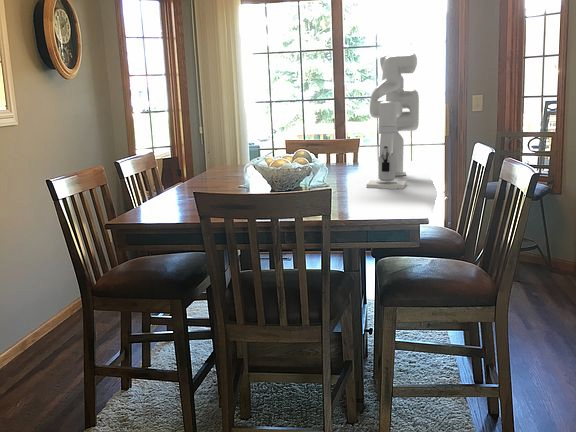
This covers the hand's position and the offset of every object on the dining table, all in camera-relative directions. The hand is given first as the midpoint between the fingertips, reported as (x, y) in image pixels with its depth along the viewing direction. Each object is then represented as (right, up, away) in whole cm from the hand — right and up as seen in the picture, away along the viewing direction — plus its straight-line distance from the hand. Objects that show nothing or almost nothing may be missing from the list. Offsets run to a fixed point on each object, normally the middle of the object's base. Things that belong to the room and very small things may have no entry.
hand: (386, 170), depth 271 cm
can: (0, -5, +1) cm, 5 cm away
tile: (0, -7, +1) cm, 7 cm away
